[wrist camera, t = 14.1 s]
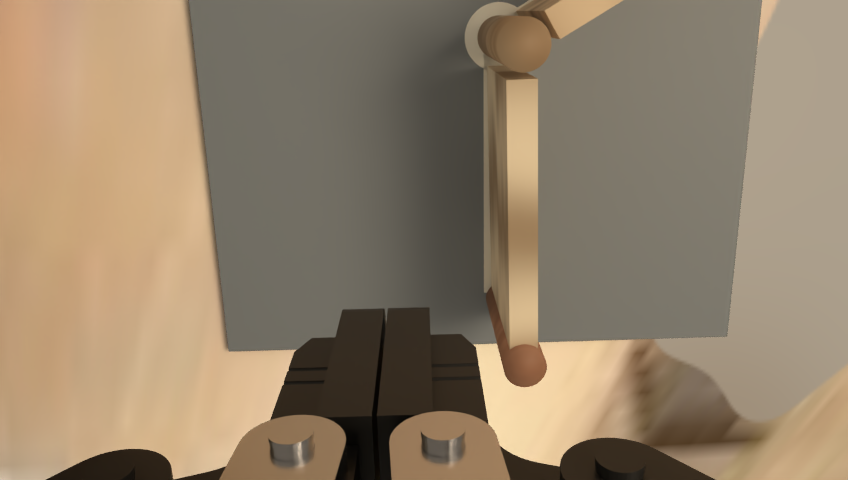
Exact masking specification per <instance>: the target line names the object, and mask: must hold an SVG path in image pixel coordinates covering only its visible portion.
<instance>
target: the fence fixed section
mask: <svg viewBox="0 0 848 480" xmlns="http://www.w3.org/2000/svg"><path fill="white" fill-rule="evenodd" d="M621 1H623V0H533V1H531V2H530V3H528V4H526V5H525V6H523V7H522V8H520V9H518V10H517V11H516V12H517V14H518V16H505V15H496V16H492V17H490V18H488V19H487V20H485V21H484V22H483V23H482V25H481V26H480V28H479V31H478V35H477V40H478V45H479V47H480V49H481V51H482V52H483V53H484V54H485V55H487V56H488V57H490V58H492V59H494V60H495V61H497V62H499V63H500V64H502V65H504V66H506V67H507V68H509V69H511V70H513V71H516V72H523V73H524V72H530V71H533V70H535V69H537V68H539V67H540V66H541V65H542V64H543V63H544V62H545V61H546V60H547V58H548V56H549V54H550V51H551V38H556V39H561V38H563V37H565V36H566V35H568V34H569V33H571V32H573V31H574V30H576V29H578V28H579V27H581V26H582V25H584V24H586V23H587V22H589V21H591V20H592V19H594V18H595V17H597V16H599V15H600V14H602V13H604V12H605V11H607V10H608V9H610V8H612V7H613V6H615V5H617V4H618V3H620V2H621Z"/></svg>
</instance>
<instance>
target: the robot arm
mask: <svg viewBox="0 0 848 480" xmlns="http://www.w3.org/2000/svg"><path fill="white" fill-rule="evenodd" d="M46 480H173V475H172V469H171V465H170V463H169V461H168V460H167V459H166V458H165V457H164V456H163V455H161V454H159V453H157V452H154V451H150V450H143V449H125V450H117V451H112V452H108V453H104V454H100V455H97V456H94V457H92V458H89V459H87V460H85V461H82V462H80V463H78V464H76V465H74V466H72V467H70V468H68V469H66V470H64V471H62V472H60V473H58V474H56V475H54V476H52V477H50V478H48V479H46ZM175 480H715V479H713V478H711V477H709V476H707V475H705V474H703V473H701V472H699V471H697V470H695V469H693V468H691V467H689V466H687V465H686V464H684V463H682V462H680V461H678V460H676V459H674V458H672V457H670V456H668V455H666V454H664V453H662V452H660V451H658V450H656V449H654V448H652V447H650V446H647V445H645V444H642V443H639V442H635V441H631V440H627V439H619V438H597V439H591V440H587V441H583V442H580V443H578V444H576V445H574V446H573V447H571V448H570V449H568V450H567V451H566V452H565V454H564V455H563V457H562V459H561V463H560V467H558V466H553V465H547V464H542V463H537V462H532V461H529V460H526V459H523V458H520V457H518V456H515V455H513V454H511V453H510V452H508V451H506V450H505V449H503V448H502V447H501V446H500V445H499V442H498V439H497V435H496V433H495V431H494V430H493V429H492V427H491V426H490V425H488V419H487V413H486V407H485V401H484V395H483V389H482V383H481V379H480V371H479V366H478V358H477V352H476V347H475V346H474V345H473V344H472V343H471V342H469V341H468V340H467V339H466V338H465V337H464V336H463V335H462V334H436V335H430V307H412V308H388V312H387V321H386V314H385V309H384V308H379V309H343V310H342V313H341V317H340V321H339V325H338V329H337V333H336V337H327V338H311V339H310V340H309V341H307V342H306V343H305V344H304V345H303V346H301V347H300V348H299V349H298V350H296V351H295V352H294V355H293V358H292V361H291V363H290V366H289V371H288V372H287V375H286V377H285V380H284V385H283V386H282V389H281V391H280V394H279V397H278V400H277V403H276V405H275V408H274V411H273V414H272V417H271V419H270V421H267V422H265V423H262V424H260V425H258V426H257V427H255V428H253V429H252V430H250V431H249V432H248V433H247V434H246V435H245V436H244V437H243V438H242V439H241V441H240V442H239V444H238V446H237V447H236V449H235V451H234V453H233V455H232V457H231V458H230V460H229V462H228V464H227V466H226V467H223V468H220V469H217V470H213V471H210V472H206V473H201V474H197V475H192V476H188V477H184V478H179V479H175Z"/></svg>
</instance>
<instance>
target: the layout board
mask: <svg viewBox="0 0 848 480" xmlns="http://www.w3.org/2000/svg"><path fill="white" fill-rule="evenodd" d="M531 1H533V0H189V7H190V16H191V24H192V33H193V42H194V51H195V59H196V68H197V77H198V86H199V95H200V103H201V112H202V121H203V130H204V138H205V147H206V156H207V165H208V174H209V182H210V191H211V200H212V209H213V217H214V226H215V235H216V244H217V253H218V261H219V270H220V279H221V288H222V296H223V305H224V314H225V323H226V332H227V340H228V349H229V351H261V350H294V349H299V348H300V347H301V346H303V345H304V344H305V343H306V342H307V341H309V340H310V339H311V338H327V337H336V333H337V329H338V325H339V321H340V317H341V313H342V310H343V309H379V308H384V309H385V314H386V321H387V312H388V308H412V307H430V335H436V334H462V335H463V336H464V337H465V338H466V339H467V340H468V341H469V342H471V343H472V344H494V343H497V341H496V337H495V333H494V329H493V326H492V322H491V318H490V314H489V310H488V306H487V302H486V294H487V292H488V290H489V288H490V287H491V241H490V192H489V143H488V94H487V66H502V64H500V63H499V62H497V61H495V60H494V59H492V58H490V57H488V56H487V55H485V54H484V53H483V52H482V51H481V49H480V47H479V45H478V40H477V35H478V31H479V28H480V26H481V25H482V23H483V22H484V21H485V20H487V19H488V18H490V17H492V16H496V15H505V16H518V14H517V12H516V11H517V10H518V9H520V8H522V7H523V6H525V5H526V4H528V3H530V2H531ZM761 6H762V0H623V1H621V2H620V3H618V4H617V5H615V6H613V7H612V8H610V9H608V10H607V11H605V12H604V13H602V14H600V15H599V16H597V17H595V18H594V19H592V20H591V21H589V22H587V23H586V24H584V25H582V26H581V27H579V28H578V29H576V30H574V31H573V32H571V33H569V34H568V35H566V36H565V37H563V38H561V39H556V38H551V51H550V54H549V56H548V58H547V60H546V61H545V62H544V63H543V64H542V65H541V66H540V67H539V68H537V69H535V70H533V71H530V72H526V73H528V74H530V75H532V76H534V77H536V78H538V342H560V341H594V340H627V339H660V338H690V337H691V338H693V337H725V336H727V332H728V322H729V312H730V304H731V294H732V284H733V274H734V265H735V255H736V245H737V236H738V226H739V217H740V207H741V198H742V188H743V178H744V169H745V159H746V150H747V140H748V130H749V121H750V111H751V102H752V92H753V82H754V73H755V63H756V54H757V44H758V34H759V25H760V15H761Z"/></svg>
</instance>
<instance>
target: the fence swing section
mask: <svg viewBox="0 0 848 480" xmlns="http://www.w3.org/2000/svg"><path fill="white" fill-rule="evenodd" d="M487 94H488V143H489V192H490V241H491V287H490V288H489V290H488V292H487V294H486V302H487V306H488V310H489V314H490V318H491V322H492V326H493V329H494V333H495V337H496V341H497V345H498V349H499V353H500V357H501V361H502V364H503V368H504V372H505V375H506V377H507V379H508V380H509V381H510V382H511V383H512V384H514V385H516V386H520V387H529V386H533V385H535V384H537V383H538V382H539V381H541V380H542V378H543V377H544V375H545V373H546V370H547V364H546V360H545V358H544V355H543V353H542V350H541V347H540V345H539V342H538V78H536V77H534V76H532V75H530V74H528V73H526V72H524V73H523V72H516V71H513V70H511V69H509V68H507V67H506V66H504V65H502V66H487Z"/></svg>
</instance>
